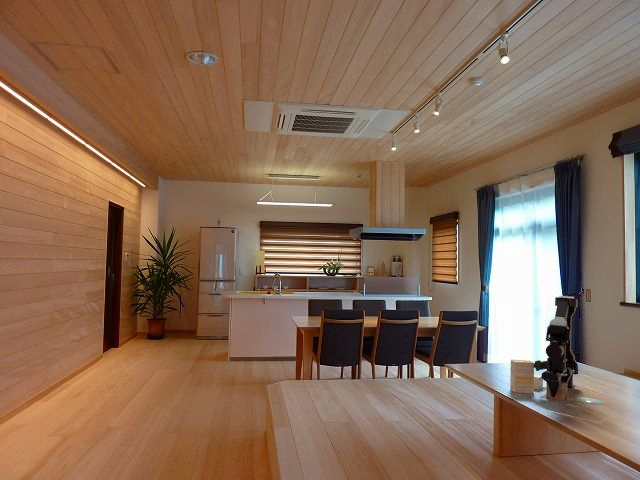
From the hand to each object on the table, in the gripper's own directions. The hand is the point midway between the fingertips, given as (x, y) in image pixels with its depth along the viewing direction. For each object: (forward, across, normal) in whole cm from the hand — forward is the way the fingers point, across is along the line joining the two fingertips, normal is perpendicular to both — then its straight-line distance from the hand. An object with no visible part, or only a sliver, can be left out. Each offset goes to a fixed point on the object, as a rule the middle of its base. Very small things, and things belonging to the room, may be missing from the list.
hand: (556, 395), depth 193 cm
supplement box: (+2, +2, -13) cm, 13 cm away
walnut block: (+1, 0, 0) cm, 1 cm away
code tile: (+2, 0, 0) cm, 2 cm away
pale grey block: (+1, -10, -12) cm, 16 cm away
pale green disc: (+2, -6, +10) cm, 12 cm away
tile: (+2, -10, -12) cm, 16 cm away
